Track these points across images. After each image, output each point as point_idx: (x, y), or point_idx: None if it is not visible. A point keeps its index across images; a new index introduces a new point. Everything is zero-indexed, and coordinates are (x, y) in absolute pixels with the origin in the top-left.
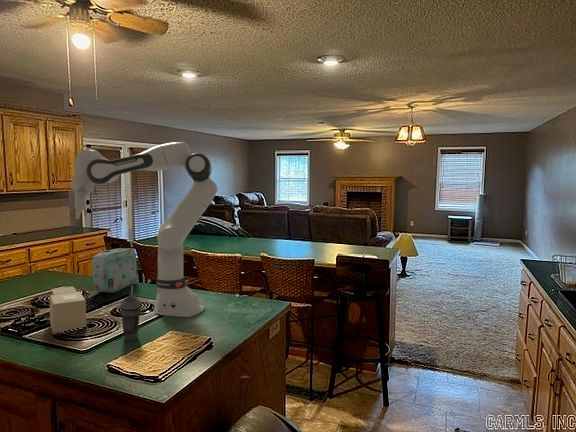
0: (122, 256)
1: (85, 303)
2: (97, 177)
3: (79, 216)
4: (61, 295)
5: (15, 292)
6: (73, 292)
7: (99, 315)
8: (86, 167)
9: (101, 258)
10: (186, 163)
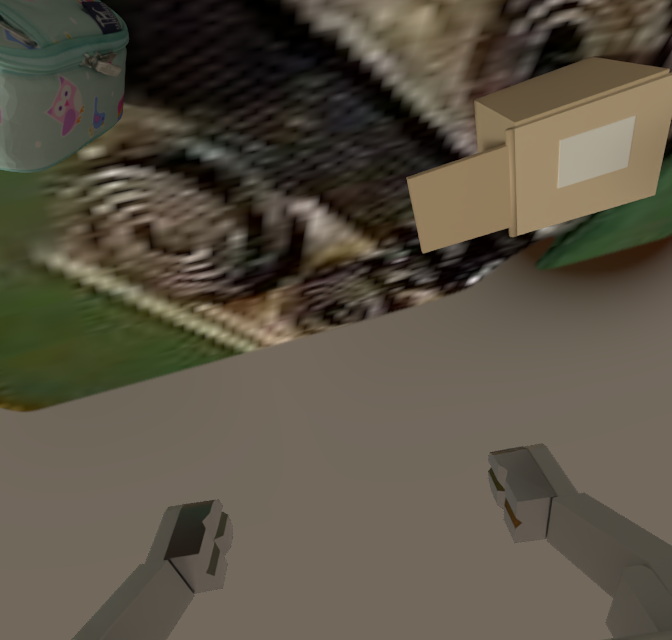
0: None
1: (661, 69)
2: None
3: (564, 481)
4: (541, 195)
5: (146, 359)
6: (517, 156)
7: (450, 26)
8: None
9: (23, 103)
10: None
